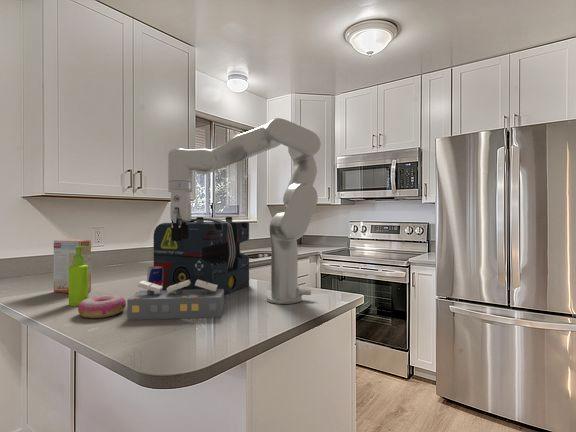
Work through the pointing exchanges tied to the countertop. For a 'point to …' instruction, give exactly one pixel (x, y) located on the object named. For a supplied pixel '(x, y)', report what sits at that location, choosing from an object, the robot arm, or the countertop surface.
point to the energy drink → (155, 275)
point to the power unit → (204, 254)
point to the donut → (101, 306)
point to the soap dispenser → (78, 278)
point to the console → (175, 304)
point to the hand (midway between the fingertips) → (180, 239)
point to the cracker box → (69, 262)
